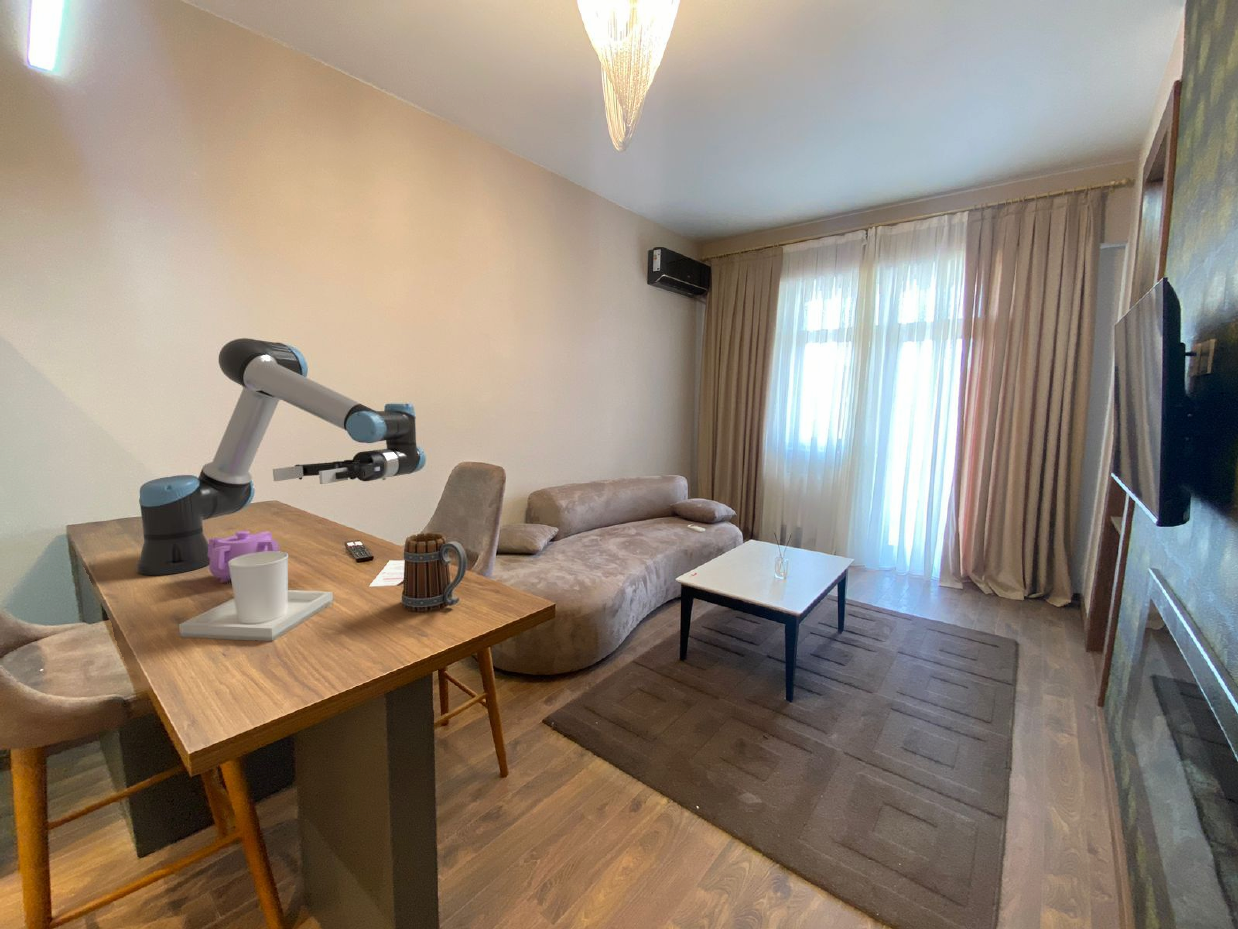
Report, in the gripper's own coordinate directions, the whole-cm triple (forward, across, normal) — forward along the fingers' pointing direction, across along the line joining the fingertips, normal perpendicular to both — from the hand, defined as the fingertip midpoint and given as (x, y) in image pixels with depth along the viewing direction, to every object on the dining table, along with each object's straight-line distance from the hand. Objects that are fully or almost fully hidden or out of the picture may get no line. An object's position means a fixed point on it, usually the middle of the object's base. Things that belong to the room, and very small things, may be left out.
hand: (296, 476), depth 108 cm
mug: (-9, -28, -29) cm, 41 cm away
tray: (+10, 0, -28) cm, 30 cm away
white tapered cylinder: (+10, 0, -27) cm, 29 cm away
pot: (-5, +27, -28) cm, 39 cm away
